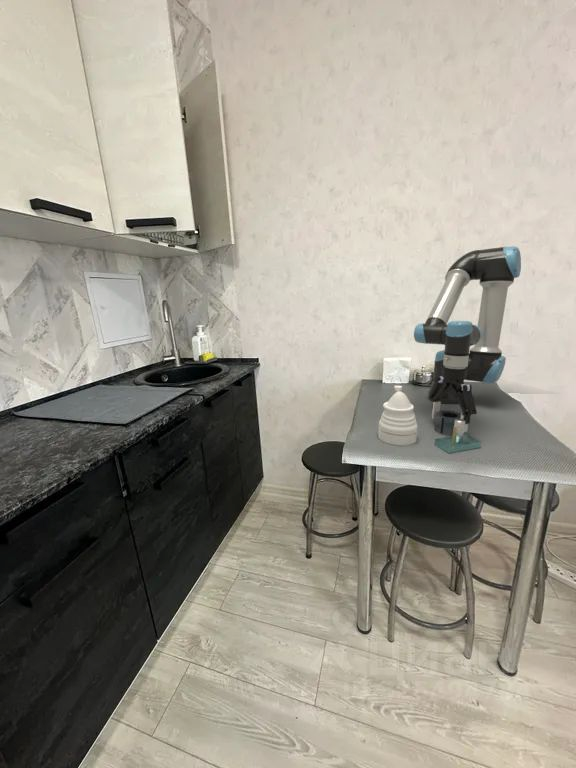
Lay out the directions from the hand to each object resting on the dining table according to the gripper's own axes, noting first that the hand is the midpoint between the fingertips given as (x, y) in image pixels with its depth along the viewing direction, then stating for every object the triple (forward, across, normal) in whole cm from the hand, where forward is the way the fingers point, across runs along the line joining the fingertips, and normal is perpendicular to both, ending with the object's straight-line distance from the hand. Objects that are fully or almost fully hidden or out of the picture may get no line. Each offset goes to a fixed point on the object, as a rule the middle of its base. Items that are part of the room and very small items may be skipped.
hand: (448, 424), depth 113 cm
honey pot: (+3, -2, -20) cm, 20 cm away
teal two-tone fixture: (+3, +11, -6) cm, 12 cm away
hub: (+2, 0, 0) cm, 2 cm away
